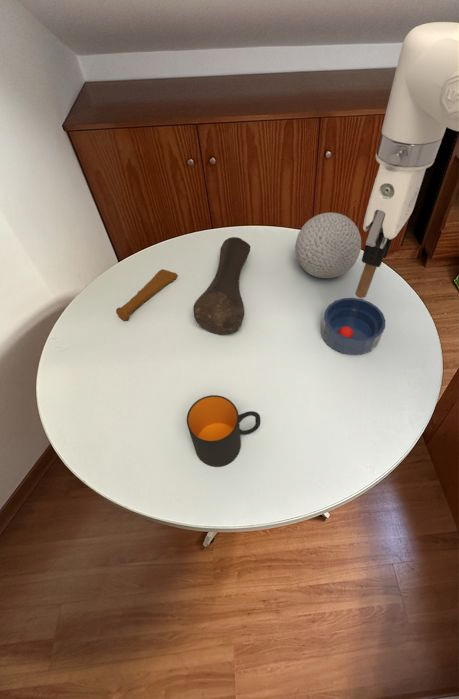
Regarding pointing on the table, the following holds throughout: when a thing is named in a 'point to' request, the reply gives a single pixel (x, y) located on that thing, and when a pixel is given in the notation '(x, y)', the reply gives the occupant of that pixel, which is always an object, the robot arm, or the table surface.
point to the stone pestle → (224, 291)
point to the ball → (346, 332)
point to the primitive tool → (146, 293)
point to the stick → (366, 279)
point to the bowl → (353, 325)
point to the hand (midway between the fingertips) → (374, 258)
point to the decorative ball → (328, 245)
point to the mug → (217, 429)
